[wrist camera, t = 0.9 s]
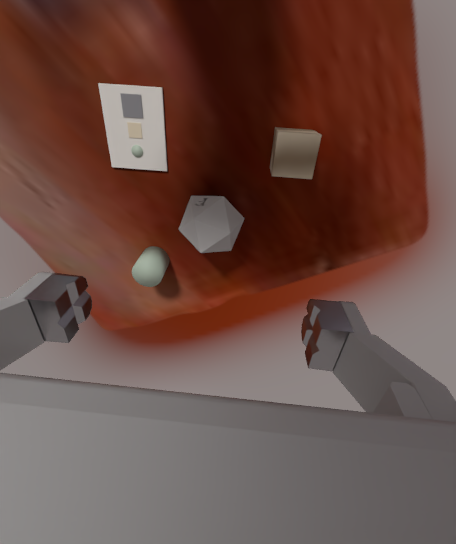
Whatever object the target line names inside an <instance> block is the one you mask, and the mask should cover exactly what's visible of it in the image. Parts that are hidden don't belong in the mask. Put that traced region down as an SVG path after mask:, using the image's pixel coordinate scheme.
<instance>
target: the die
mask: <svg viewBox="0 0 456 544" xmlns="http://www.w3.org/2000/svg"><path fill="white" fill-rule="evenodd" d="M244 219H245V218H244V217H243V216H242V215H241V214H240V213H239V212H238V211H237V210H236V209H235V208H234V207H233V206H232V205H231V204H230V202H229V201H228V200H227V199H226V198H225V197H224V196H191V197H190V200H189V203H188V205H187V208H186V211H185V213H184V216H183V219H182V221H181V224H180V227H179V231H180V232H181V233H182V234H183V235H184V236H185V237H186V238H187V239H188V240H189V241H190V242H191V243H192V244H193V245H194V246H195V248H196V249H197V250H198V251H199V252H200V253H208V252H221V251H231V250H232V247H233V245H234V243H235V240H236V238H237V235H238V233H239V231H240V228H241V226H242V224H243V221H244Z"/></svg>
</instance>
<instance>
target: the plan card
mask: <svg viewBox="0 0 456 544" xmlns="http://www.w3.org/2000/svg"><path fill="white" fill-rule="evenodd" d="M98 85H99V91H100V97H101V103H102V110H103V116H104V122H105V128H106V134H107V140H108V146H109V152H110V158H111V164H112V167H117V168H130V169H143V170H156V171H167V154H166V137H165V121H164V104H163V88H162V87H147V86H132V85H117V84H102V83H98Z"/></svg>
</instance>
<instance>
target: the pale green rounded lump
mask: <svg viewBox="0 0 456 544" xmlns="http://www.w3.org/2000/svg"><path fill="white" fill-rule="evenodd" d="M169 262H170V259H169V256H168V254H167V253H166V252H165V251H164V250H163V249H161V248H159V247H154V246H153V247H148V248H146V249H145V250H144V251H143V253H142V254H141V256H140V257H139V259H138V260H137V262H136V263H135V265H134V266H133V268H132V275H133V277H134V279H135V280H136V281H137V282H138V283H139V284H141V285H143V286H147V287H153V286H156V285H158V284H159V283H160V282H161V280H162V278H163V276H164V273H165V271H166V269H167V267H168V265H169Z"/></svg>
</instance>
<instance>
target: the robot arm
mask: <svg viewBox="0 0 456 544" xmlns="http://www.w3.org/2000/svg"><path fill="white" fill-rule="evenodd" d="M87 287H88V284H87V281H86V278H84V277H83V276H76V275H68V274H60V273H50V272H39V273H37V274H36V275H35V276H34V277H32V278H31V279H30V280H28V281H27V282H26V283H25V284H24V285H22V286H21V287H20V288H19V289H17V290H16V291H15V292H14V293H12V295H10V296H9V297H8V298H5V297H2V298H0V370H1V369H3V368H5V367H6V366H8V365H9V364H11V363H12V362H14V361H16V360H17V359H19V358H20V357H22V356H23V355H25V354H27V353H28V352H30V351H31V350H33V349H35V348H36V347H37V346H39V345H41V344H42V343H44V341H51V342H65V343H69V342H70V341H71V339H72V338H73V337H74V335H75V334H76V333H77V331H78V330H79V327H78V324H80V323H82V322H83V321H85V320H86V319H87V318H88V316H89V315H90V311H91V308H92V300H91V296H90V295H89V294H88V293H87V292H86V291H85V290H86V289H87ZM307 312H308V315H306V316H305V317H304V319H303V323H302V331H301V333H302V341H303V343H304V345H305V346H306V351H305V355H306V360H307V365H308V368H312V369H319V370H327V371H333V373H334V374H335V375H336V377H337V378H338V379H339V380H340V381H341V383H342V384H343V385H344V386H345V387H346V389H347V390H348V391H349V392H350V393H351V394H352V396H353V397H354V398H355V399H356V400H357V401H358V403H359V404H360V405H361V406H362V407H363V409H364V410H365V411H366V412H358V411H348V410H339V409H330V408H321V407H311V406H302V405H293V404H282V403H274V402H265V401H256V400H247V399H237V398H228V397H219V396H210V395H200V394H192V393H183V392H173V391H163V390H155V389H145V388H135V387H127V386H118V385H108V384H99V383H90V382H80V381H71V380H62V379H53V378H43V377H33V376H25V375H16V374H7V373H0V544H456V401H455V399H454V398H453V396H452V395H451V393H450V392H449V390H448V389H447V388H446V386H445V385H443V384H442V383H440V382H439V381H438V380H436V379H435V378H434V377H432V376H431V375H430V374H428V373H427V372H425V371H424V370H423V369H421V368H420V367H418V366H417V365H416V364H414V363H413V362H412V361H410V360H409V359H408V358H406V357H405V356H404V355H402V354H401V353H399V352H398V351H397V350H395V349H394V348H392V347H391V346H390V345H388V344H387V343H386V342H384V341H383V340H382V339H380V338H379V337H377V336H376V335H371V334H370V332H369V330H368V328H367V326H366V324H365V322H364V320H363V318H362V316H361V314H360V312H359V310H358V308H357V307H356V304H355V303H353V302H343V301H338V302H337V301H326V300H315V299H310V300H309V302H308V305H307Z"/></svg>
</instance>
